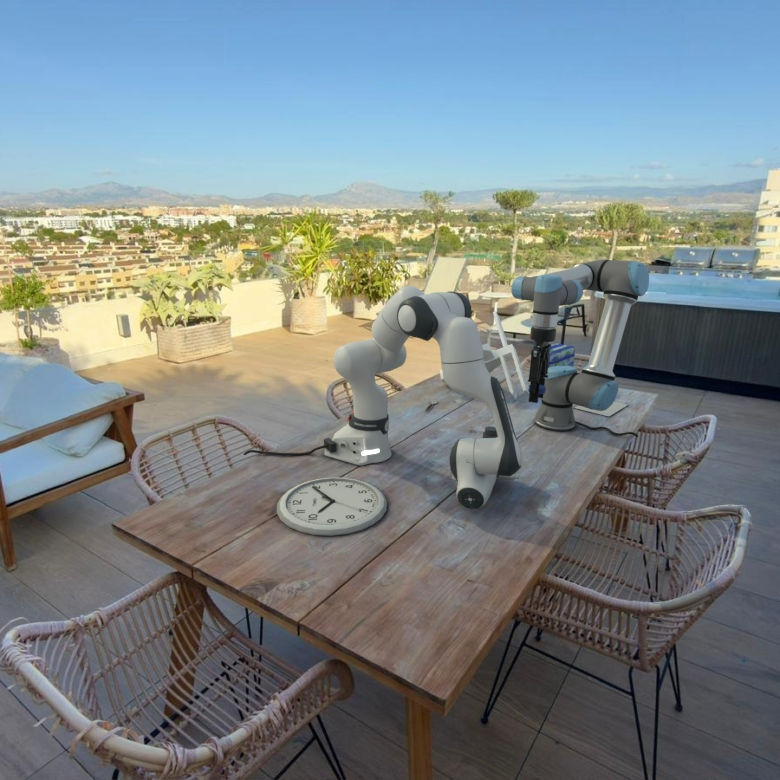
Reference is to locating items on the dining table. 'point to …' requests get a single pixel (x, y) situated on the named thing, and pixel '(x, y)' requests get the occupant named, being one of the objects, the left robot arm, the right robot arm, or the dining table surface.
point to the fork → (432, 403)
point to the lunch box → (561, 355)
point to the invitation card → (608, 412)
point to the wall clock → (331, 506)
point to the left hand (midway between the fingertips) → (489, 454)
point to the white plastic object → (502, 359)
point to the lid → (540, 389)
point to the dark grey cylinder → (490, 432)
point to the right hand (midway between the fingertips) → (535, 399)
